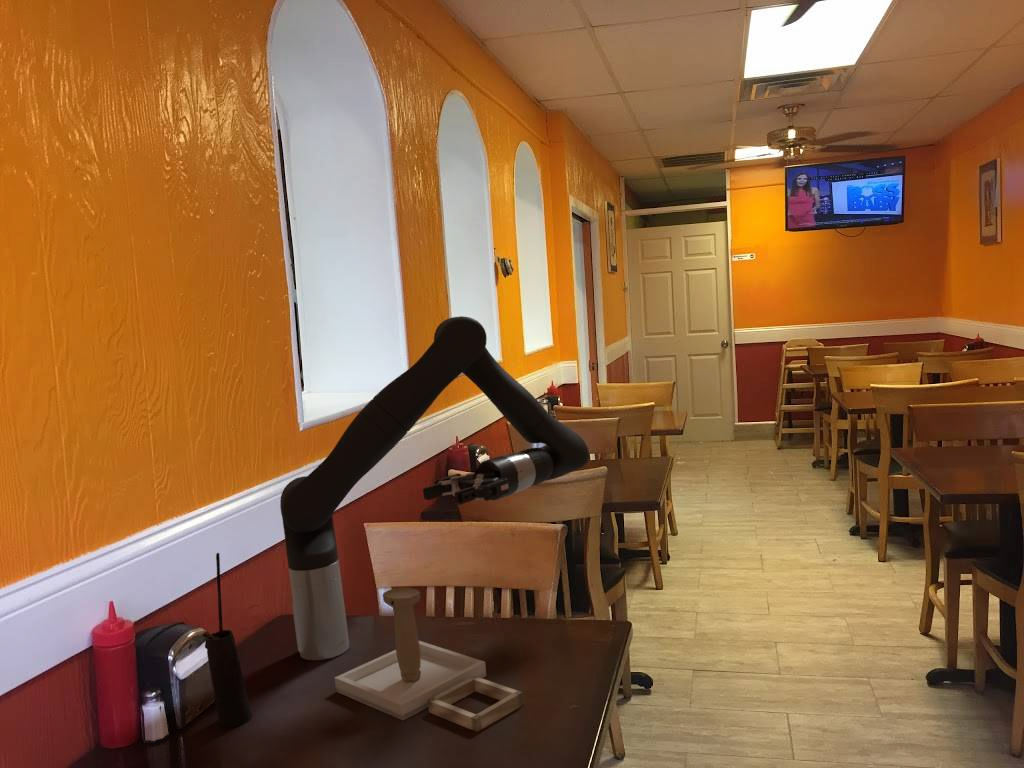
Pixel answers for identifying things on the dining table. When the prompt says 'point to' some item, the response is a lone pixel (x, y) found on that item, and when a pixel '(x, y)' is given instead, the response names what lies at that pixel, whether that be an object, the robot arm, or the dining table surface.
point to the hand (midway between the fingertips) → (440, 496)
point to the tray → (404, 699)
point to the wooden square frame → (477, 722)
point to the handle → (405, 630)
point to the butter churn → (226, 672)
